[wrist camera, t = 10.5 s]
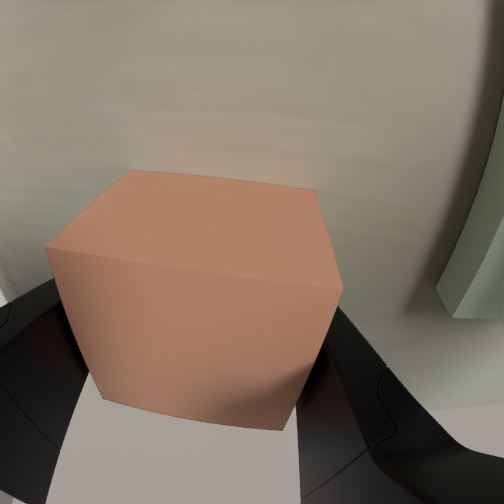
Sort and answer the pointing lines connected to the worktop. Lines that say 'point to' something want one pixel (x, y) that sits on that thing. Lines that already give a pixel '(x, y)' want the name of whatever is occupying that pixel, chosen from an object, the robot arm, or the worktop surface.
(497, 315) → the base plate
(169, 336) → the terracotta brick
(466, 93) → the worktop surface
